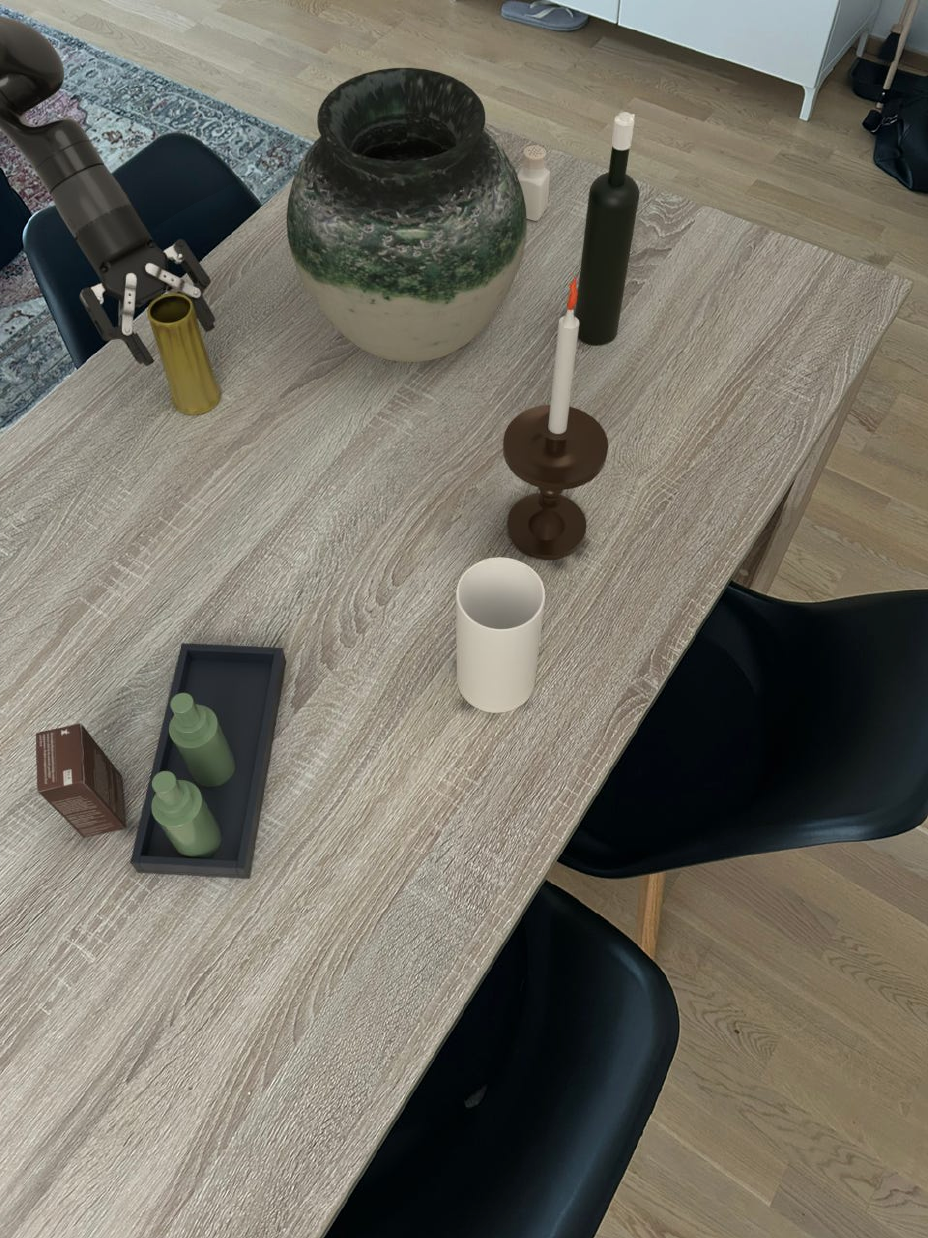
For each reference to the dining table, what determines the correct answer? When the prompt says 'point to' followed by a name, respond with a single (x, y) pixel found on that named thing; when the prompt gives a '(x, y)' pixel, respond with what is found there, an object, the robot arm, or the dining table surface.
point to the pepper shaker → (534, 181)
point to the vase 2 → (406, 215)
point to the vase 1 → (183, 354)
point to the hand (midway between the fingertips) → (180, 346)
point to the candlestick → (554, 458)
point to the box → (79, 780)
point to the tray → (247, 713)
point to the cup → (498, 633)
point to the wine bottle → (607, 242)
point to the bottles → (208, 765)
